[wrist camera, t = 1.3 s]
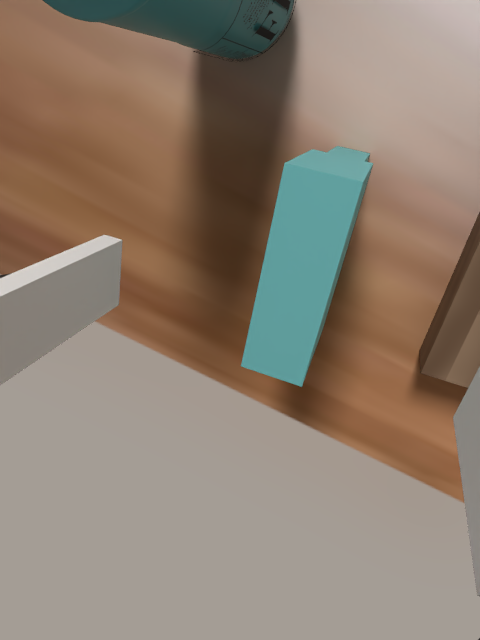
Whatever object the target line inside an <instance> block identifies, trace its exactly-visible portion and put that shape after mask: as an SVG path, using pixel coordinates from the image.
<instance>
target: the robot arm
mask: <svg viewBox="0 0 480 640" xmlns="http://www.w3.org/2000/svg"><path fill="white" fill-rule="evenodd" d="M121 255H122V240H121V239H117V238H114V237H111V236H107V235H103V236H100V237H98V238H95V239H93V240H91V241H88V242H86V243H84V244H81V245H79V246H76V247H74V248H72V249H69V250H67V251H64V252H62V253H60V254H57V255H55V256H52V257H50V258H48V259H45V260H43V261H40V262H38V263H36V264H33V265H31V266H29V267H26V268H24V269H21V270H19V271H17V272H14V273H11V274H6V275H0V385H1V384H3V383H4V382H6V381H7V380H9V379H10V378H11V377H13V376H14V375H16V374H17V373H19V372H20V371H22V370H23V369H25V368H26V367H28V366H29V365H31V364H32V363H34V362H35V361H37V360H38V359H40V358H41V357H42V356H44V355H45V354H47V353H48V352H50V351H51V350H53V349H54V348H56V347H57V346H59V345H60V344H61V343H63V342H65V341H66V340H68V339H69V338H70V337H72V336H73V335H75V334H76V333H78V332H79V331H81V330H82V329H84V328H85V327H87V326H88V325H90V324H91V323H93V322H94V321H96V320H97V319H99V318H100V317H101V316H103V315H104V314H106V313H107V312H109V311H110V310H112V309H113V308H115V307H116V306H118V305H119V291H120V273H121ZM453 420H454V427H455V435H456V442H457V449H458V457H459V464H460V472H461V479H462V486H463V494H464V501H465V509H466V516H467V523H468V531H469V538H470V546H471V553H472V560H473V568H474V575H475V583H476V590H477V596H480V367H479V368H478V370H477V372H476V374H475V376H474V378H473V380H472V382H471V384H470V386H469V388H468V390H467V392H466V394H465V395H464V397H463V399H462V401H461V403H460V405H459V407H458V409H457V411H456V413H455V415H454V417H453ZM479 640H480V638H479Z"/></svg>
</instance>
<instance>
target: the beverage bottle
mask: <svg viewBox="0 0 480 640" xmlns="http://www.w3.org/2000/svg"><path fill="white" fill-rule="evenodd" d="M43 1H44V2H45V3H47V4H48V5H49V6H51V7H52V8H54V9H55V10H57V11H59V12H61V13H62V14H64V15H67V16H70V17H72V18H75V19H79V20H83V21H88V22H101V23H105V24H108V25H112V26H116V27H120V28H124V29H128V30H131V31H135V32H139V33H143V34H147V35H150V36H154V37H158V38H162V39H166V40H170V41H173V42H177V43H179V44H182V45H184V46H187V47H191V48H194V49H198V50H201V51H205V52H208V53H212V54H214V55H219V56H222V58H224V57H226V58H228V59H230V58H231V60H233V61H234V60H235V59H241V60H243V58H245V59H247V58H249V57H251V58H252V56H254V55H256V54H258V53H262V51H264V50H265V49H266V48H268V47H269V46H270V45H271V44H272V43H273V42H274V41H275V40H276V39H277V38H278V37H279V35H280V34H281V33H282V31H283V30H284V28H285V26H286V24H287V22H288V20H289V18H290V15H291V12H292V8H293V4H294V0H43ZM295 3H296V2H295ZM294 7H295V6H294ZM293 11H294V10H293ZM292 14H293V13H292ZM291 17H292V16H291ZM290 20H291V19H290ZM289 22H290V21H289ZM288 24H289V23H288ZM287 26H288V25H287ZM286 28H287V27H286ZM285 30H286V29H285ZM285 30H284V31H285ZM283 33H284V32H283ZM281 36H282V35H281ZM281 36H280V37H281ZM277 41H278V40H277ZM277 41H276V42H277ZM273 45H274V44H273ZM273 45H272V46H273ZM272 46H271V47H272ZM271 47H270V48H271ZM270 48H269V49H270ZM193 52H195V51H193ZM265 52H266V51H265ZM197 53H198V52H197ZM201 54H202V53H201ZM262 54H263V53H262ZM204 55H205V54H204ZM208 56H209V55H208ZM212 57H213V56H212ZM257 57H258V56H257ZM215 58H216V57H215ZM217 58H219V57H217ZM219 59H220V58H219ZM252 59H253V58H252ZM223 60H224V59H223ZM241 60H240V61H239V62H241ZM250 60H251V59H250ZM236 61H237V60H236ZM246 61H247V60H246ZM231 62H232V61H231Z"/></svg>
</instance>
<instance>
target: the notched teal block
mask: <svg viewBox="0 0 480 640" xmlns="http://www.w3.org/2000/svg"><path fill="white" fill-rule="evenodd" d="M369 155H370V153H366V152H361V151H357V150H352V149H348V148H344V147H339V146H337V147H335V148H333V149H332V150H330V151H328V152H327V153H326V152H322V151H318V150H313V149H312V150H310V151H308V152H306V153H304V154H302V155H300V156H298V157H296V158H294V159H292V160H290V161H288V162H286V163H285V164H284V168H283V173H282V178H281V182H280V187H279V192H278V196H277V201H276V206H275V210H274V215H273V220H272V224H271V229H270V234H269V238H268V243H267V248H266V252H265V257H264V262H263V266H262V271H261V276H260V280H259V285H258V290H257V294H256V299H255V304H254V308H253V313H252V318H251V322H250V327H249V332H248V336H247V341H246V345H245V350H244V355H243V359H242V364H241V366H242V367H245V368H248V369H251V370H254V371H256V372H259V373H262V374H265V375H268V376H271V377H274V378H277V379H280V380H283V381H286V382H289V383H292V384H295V385H298V386H301V387H302V385H303V382H304V379H305V377H306V374H307V371H308V368H309V366H310V363H311V360H312V358H313V355H314V352H315V349H316V347H317V344H318V341H319V338H320V336H321V333H322V330H323V327H324V324H325V320H326V317H327V314H328V310H329V307H330V304H331V301H332V297H333V294H334V291H335V287H336V284H337V281H338V278H339V274H340V271H341V268H342V264H343V261H344V258H345V255H346V251H347V248H348V245H349V241H350V238H351V235H352V232H353V228H354V225H355V222H356V219H357V215H358V212H359V209H360V205H361V202H362V199H363V196H364V192H365V189H366V186H367V182H368V179H369V176H370V173H371V169H372V166H373V163H370V162H368V159H369Z"/></svg>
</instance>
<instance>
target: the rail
mask: <svg viewBox="0 0 480 640" xmlns="http://www.w3.org/2000/svg"><path fill="white" fill-rule="evenodd" d="M479 367H480V213H479V215H478V217H477V220H476V222H475V224H474V226H473V229H472V231H471V233H470V236H469V238H468V240H467V243H466V245H465V247H464V249H463V252H462V254H461V256H460V259H459V261H458V263H457V266H456V268H455V270H454V273H453V275H452V277H451V279H450V282H449V284H448V286H447V289H446V291H445V293H444V296H443V298H442V300H441V302H440V305H439V307H438V309H437V312H436V314H435V316H434V319H433V321H432V323H431V325H430V328H429V330H428V332H427V335H426V337H425V339H424V342H423V344H422V346H421V349H420V369H421V373H422V374H425V375H428V376H431V377H434V378H438V379H441V380H444V381H447V382H450V383H453V384H457V385H460V386H463V387H466V388H469V386H470V384H471V382H472V380H473V378H474V376H475V374H476V372H477V370H478V368H479Z"/></svg>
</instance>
